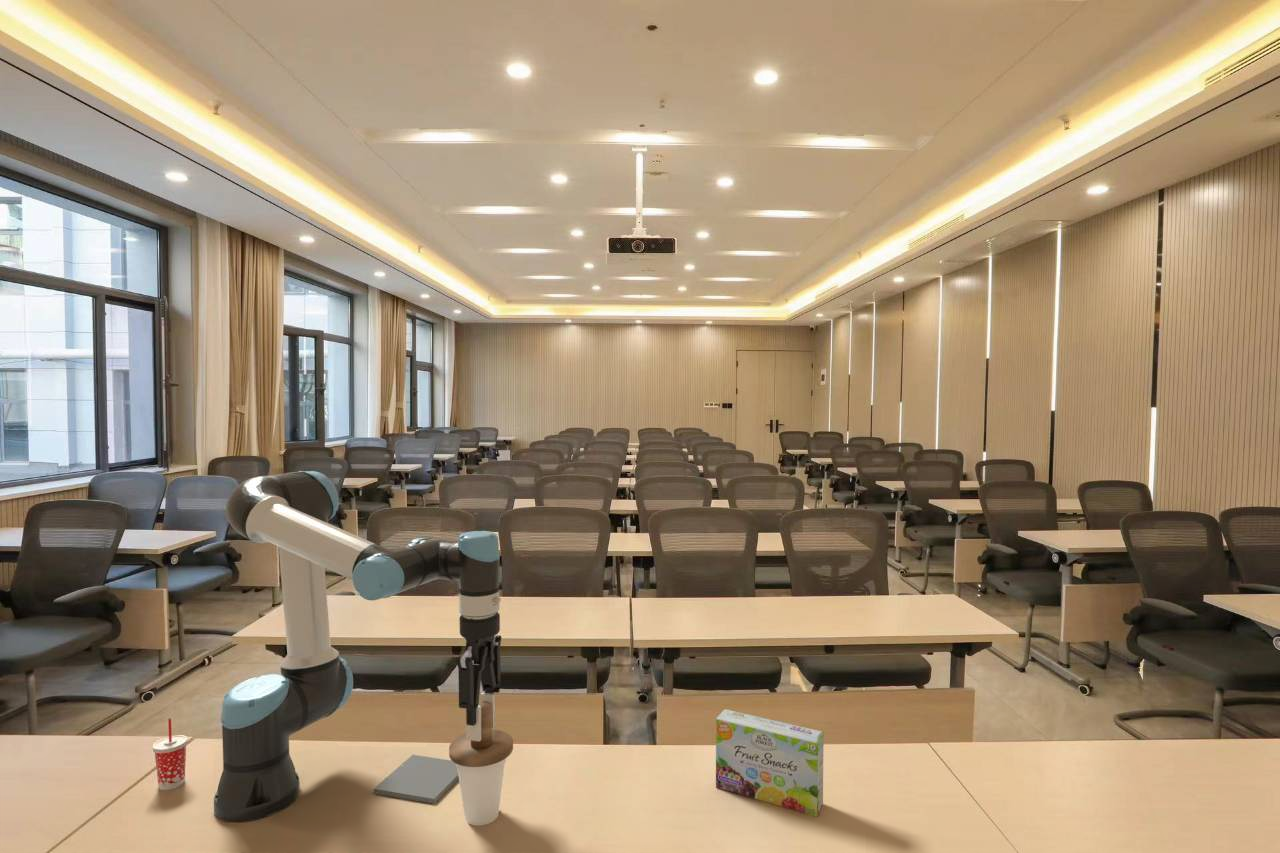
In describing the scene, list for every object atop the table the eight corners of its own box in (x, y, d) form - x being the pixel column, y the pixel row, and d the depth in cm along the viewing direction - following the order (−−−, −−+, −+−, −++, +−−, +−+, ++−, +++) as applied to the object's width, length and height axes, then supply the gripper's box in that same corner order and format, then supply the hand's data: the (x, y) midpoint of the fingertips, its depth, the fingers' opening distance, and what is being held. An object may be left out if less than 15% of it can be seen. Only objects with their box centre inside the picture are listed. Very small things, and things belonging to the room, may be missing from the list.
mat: (373, 793, 142) (373, 788, 142) (412, 759, 156) (412, 754, 156) (434, 803, 138) (434, 798, 138) (469, 767, 152) (469, 763, 152)
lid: (436, 761, 130) (436, 716, 130) (469, 731, 142) (468, 689, 141) (495, 771, 127) (494, 724, 126) (523, 739, 138) (522, 696, 138)
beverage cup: (186, 787, 144) (184, 721, 144) (151, 795, 142) (148, 727, 141) (191, 773, 150) (189, 709, 149) (156, 780, 147) (154, 715, 146)
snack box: (714, 789, 144) (714, 718, 143) (724, 776, 148) (724, 707, 148) (817, 818, 134) (818, 741, 133) (824, 803, 139) (825, 729, 138)
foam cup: (512, 803, 139) (512, 739, 138) (498, 831, 130) (497, 763, 129) (466, 800, 140) (465, 736, 139) (449, 828, 130) (448, 760, 130)
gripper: (474, 630, 123) (475, 758, 124) (517, 601, 141) (518, 714, 142) (436, 626, 125) (438, 753, 126) (484, 598, 143) (485, 710, 144)
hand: (480, 732), depth 134 cm, fingers open, 5 cm apart
